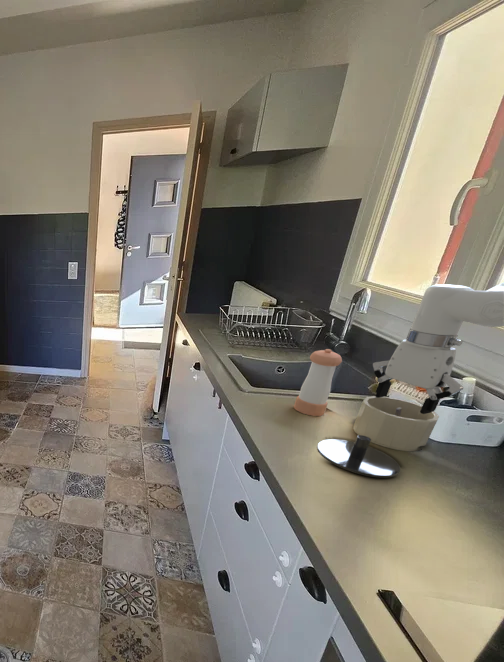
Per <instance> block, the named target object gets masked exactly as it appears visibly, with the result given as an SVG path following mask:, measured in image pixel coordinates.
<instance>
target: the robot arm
mask: <svg viewBox="0 0 504 662" xmlns="http://www.w3.org/2000/svg"><path fill="white" fill-rule="evenodd" d="M463 322H464V323H465V322H466V323H469V324H473V325H478V326H483V327H488V328H500V327H504V281H503V282H501V283H499V284H497V285H494V286H492V287H491V288H489V289H487V290H475V289H474V288H472V287H470V286H466V285H461V284H444V283H443V284H441V283H439V284H433V285H430V286H429V287H427V288H426V289H425V291H424V293H423V296H422V298H421V301H420V303H419V305H418V308H417V311H416V313H415V316H414V319H413V321H412V323H411V327H410V328H409V331H408V334H407V335H406V338H405V339H402V340H401V341H400V343H399V344H398V346H397V347H396V348H395V350H394V352H393V354H392V355H391V357H390V359H388V360H382V361H376V362H372V367H373V371H374V372H373V373H374V375H375V377H376V380H377V383H378V385H377V387H376V389H375V395H374V396H375V397H377V398H380V397H388V394H389V391H390V390H391V389H390V388H391V387H392V382H391V381H392V380H395V381H398V382H401V383H405V384H408V385H411V386H414V387H417V388H421V389H425V391H426V393H427V395H428V397H426V398H425V399H424V401H423V404H422V408H421V410H420V412H421V413H422V414H427V413H431V412H433V411H434V412H435V410H437V406H438V405H439V402H440V400H441V399H445V398H449V397H452V396H454V395H456V394H457V393H459V392H461V391H463V390H464V386H463V385H461V384H460V383H459V382H458V381H457V380H455V379H454V378H453V377H452V376H451V375H452V371H453V368H454V365H455V358H456V353H457V348H455V347H454V346H458V347H460V346H461V345H462V344H463V342H464V341H463V340H462V339H459V338H458V333H459V332H460V329H461V327H462V325H463ZM383 367H386V369H385V370H383V369H384V368H383ZM445 386H448V387H449V388H448V389H446V390H445V391H443V390H442V388H444V387H445Z"/></svg>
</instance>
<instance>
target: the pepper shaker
mask: <svg viewBox="0 0 504 662" xmlns="http://www.w3.org/2000/svg"><path fill="white" fill-rule="evenodd" d="M342 358H343V357H342V356H341V355H340V354H339V353H336V352H334V351H333V350H332V349H330V348H326V349H321V350H320V349H319V350H315V351H313V352H312V353H311V354H310V356H309V360H310V361H311V364H310V366H309V370H308V373H307V376H306V377H305V379H304V380H303V382H302V385H301V387H300V390H299V393H298V394H299V395H297V396H296V398H295V401H294V405H293V409H294V410H295V411H297V412H299V413H301V414H304V415H308V416H312V417H322V416H324V415H325V413H326V410H327V407H328V399H329V396H330V394H331V391H332V382H333V381H332V380H333V378H334V375H335V371H336V368H337V367H338V366H340V365H341V363H342V362H343V359H342Z"/></svg>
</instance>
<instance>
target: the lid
mask: <svg viewBox="0 0 504 662" xmlns="http://www.w3.org/2000/svg"><path fill="white" fill-rule="evenodd" d="M370 441H371V439H370V438H369V437H366V436H363V435H358V434H357V436H356V439H355V441H352V440H347V439H346V440H345V439H338V438H337V439H336V438H329V439H328V438H327V439H323V440H320V441H319V442H318V443H317V446H316V450H317V453H318V454H319V455H320V456H321V457H322V458H324V460H326V461H327V462H329V463H331V464H332V465H335V466H336V467H339V468H341V469H343V470H346V471H348V472H352V473H355V474H357V475H362V476H365V477H372V478H379V479H387V478H393V477H396V476H398V475H399V474H400V471H401V467H400V465H399V463H398V462H397V461H396V460H395V459H394V458H392V457H391V456H389V455H388V454H386V453H384V452H383V451H381V450H379V449H376V448H374V447H371V446H370V443H371V442H370Z"/></svg>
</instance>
